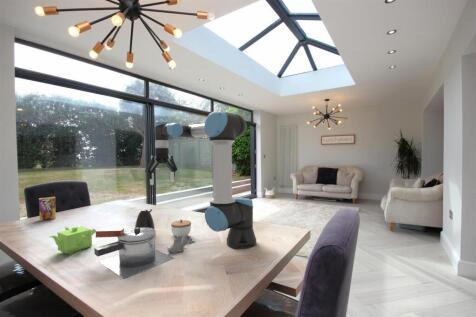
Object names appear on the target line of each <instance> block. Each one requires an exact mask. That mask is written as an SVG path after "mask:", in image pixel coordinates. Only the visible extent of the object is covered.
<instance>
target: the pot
mask: <svg viewBox="0 0 476 317" xmlns="http://www.w3.org/2000/svg"><path fill="white" fill-rule="evenodd" d="M155 249H156V235H155V236H154V237H152V238H150V239H147V240H144V241H139V242H122V241H119V240H118V239H117V241H114V242H110V243H107V244H103V245H100V246H96V247H94V249H93V250H94V252H93V253H94V256H96V257H101V256H104V255H108V254H111V253H114V252H117V251H118V255H119V264H120V265H121V266H122V267H127V268H133V267H140V266H144V265H147V264H149V263H151V262H152V261H153V260H154V259H155Z"/></svg>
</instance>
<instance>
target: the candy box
mask: <svg viewBox="0 0 476 317" xmlns="http://www.w3.org/2000/svg"><path fill="white" fill-rule="evenodd" d="M38 206H39V207H38V208H39V211H38V212H39V222H42V221H48V220H49V221H50V220H55V219H56V214H57V213H56V196H51V197H50V196H49V197H40V198H38Z"/></svg>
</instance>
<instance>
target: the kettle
mask: <svg viewBox="0 0 476 317" xmlns="http://www.w3.org/2000/svg"><path fill="white" fill-rule="evenodd" d="M64 229H65V230H63V231H62V230H61V231H58V232H57V235H51V236H48V238H52V239H53V240H54V243H55V245H56V246H57V250H58V251H60V252H62V253H64V254H65V255H69V256H72V255H74V254H75V253H76V252H78V251H81V250H85V249H87V248H91V247H92V246H93V235H95V234H96V231H97V230H96V229H94V228H92V229H91V228H88V227H86V226H85V227H84V226H73V227H71V228H69V227H68V226H65V227H64Z"/></svg>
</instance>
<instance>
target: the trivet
mask: <svg viewBox="0 0 476 317" xmlns="http://www.w3.org/2000/svg"><path fill="white" fill-rule="evenodd" d="M174 259H175V257H174V256H172V255H169V254H167V253H166V252H163V251H160V250H158V249H156V248H155V259H154V260H153V261H152V262H151V263H149V264H147V265H144V266H140V267H133V268H127V267H122V266H121V265H120V264H119V254H118V255H115V256H112V257H108V258H106V259H103V260H99V263H100V264H102V265H103V266H105V267H106V268H107V269H109V270H110V271H112V272H114V273H115V275H118V276H119V277H120V278H122V279H123V280H125V279H128V278H131V277H132V276H136V275H137V274H139V273H143V272H144V271H147V270H149V269H152V268H154V267H157V266H159V265H162V264H165V263H167V262H169V261H172V260H174Z"/></svg>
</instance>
